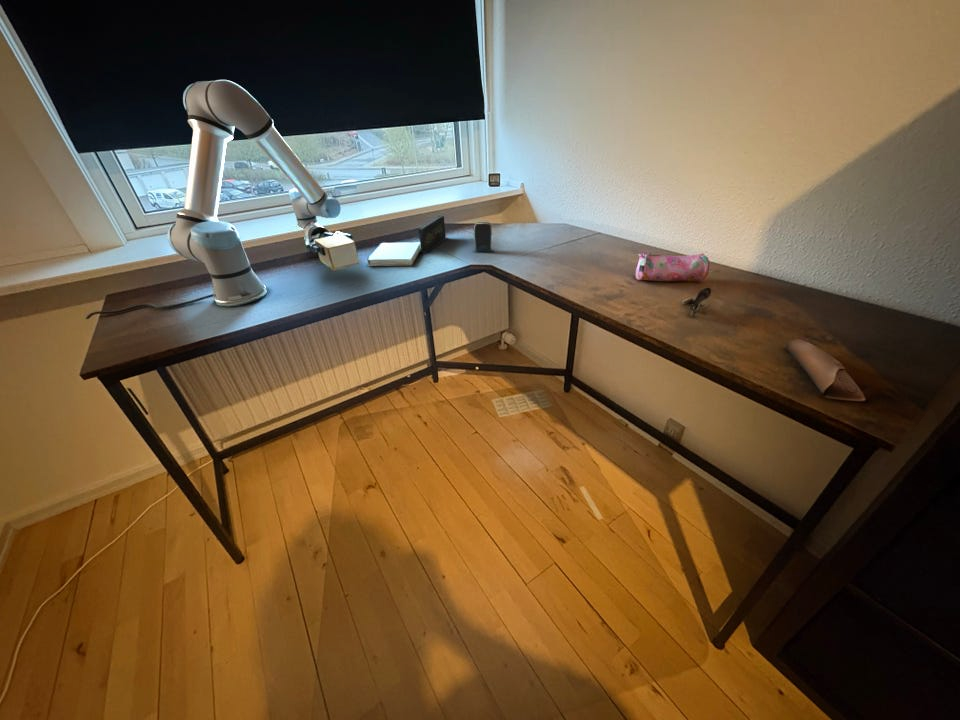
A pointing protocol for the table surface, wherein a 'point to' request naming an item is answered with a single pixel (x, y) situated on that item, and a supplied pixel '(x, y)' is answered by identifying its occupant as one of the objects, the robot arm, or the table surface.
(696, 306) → the eagle figurine
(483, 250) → the battery charger
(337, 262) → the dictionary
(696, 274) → the pencil case
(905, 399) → the table surface
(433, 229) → the nameplate
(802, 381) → the table surface
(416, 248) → the block
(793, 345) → the sunglasses case
